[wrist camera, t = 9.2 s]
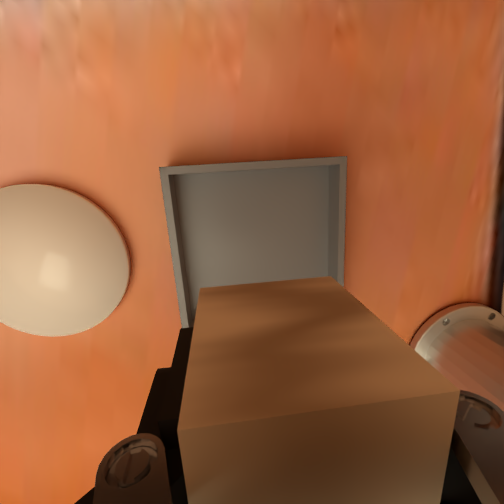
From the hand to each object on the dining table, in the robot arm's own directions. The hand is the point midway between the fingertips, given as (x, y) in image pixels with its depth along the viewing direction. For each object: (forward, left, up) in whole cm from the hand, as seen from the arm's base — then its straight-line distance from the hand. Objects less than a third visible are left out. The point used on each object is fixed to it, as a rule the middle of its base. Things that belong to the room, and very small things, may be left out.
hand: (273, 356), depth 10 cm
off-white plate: (+17, 0, -18) cm, 25 cm away
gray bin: (-2, 0, -18) cm, 18 cm away
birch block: (0, 0, -1) cm, 1 cm away
